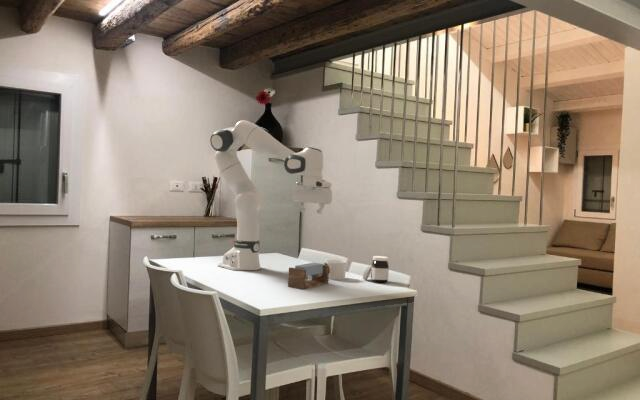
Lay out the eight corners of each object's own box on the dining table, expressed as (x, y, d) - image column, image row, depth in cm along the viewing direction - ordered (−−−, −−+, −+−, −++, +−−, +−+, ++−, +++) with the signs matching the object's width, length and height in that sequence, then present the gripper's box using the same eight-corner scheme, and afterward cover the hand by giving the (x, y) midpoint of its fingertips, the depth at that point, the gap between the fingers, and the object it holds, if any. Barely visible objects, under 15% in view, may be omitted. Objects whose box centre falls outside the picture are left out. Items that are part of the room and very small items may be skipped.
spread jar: (389, 284, 239) (390, 258, 239) (365, 283, 239) (366, 257, 238) (384, 279, 251) (385, 255, 251) (361, 278, 251) (362, 254, 250)
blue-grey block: (304, 276, 221) (304, 267, 221) (294, 275, 224) (295, 265, 224) (322, 272, 233) (323, 263, 233) (313, 271, 235) (313, 262, 235)
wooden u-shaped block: (303, 289, 218) (304, 270, 218) (288, 286, 223) (288, 267, 222) (328, 283, 234) (329, 265, 234) (313, 280, 238) (314, 263, 238)
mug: (350, 279, 247) (350, 262, 247) (331, 280, 241) (332, 263, 241) (333, 274, 258) (334, 258, 258) (315, 275, 252) (316, 259, 252)
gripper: (290, 181, 245) (288, 211, 245) (326, 183, 234) (325, 214, 234) (298, 182, 250) (296, 211, 251) (334, 184, 239) (332, 214, 239)
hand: (310, 212), depth 242 cm, fingers open, 8 cm apart
